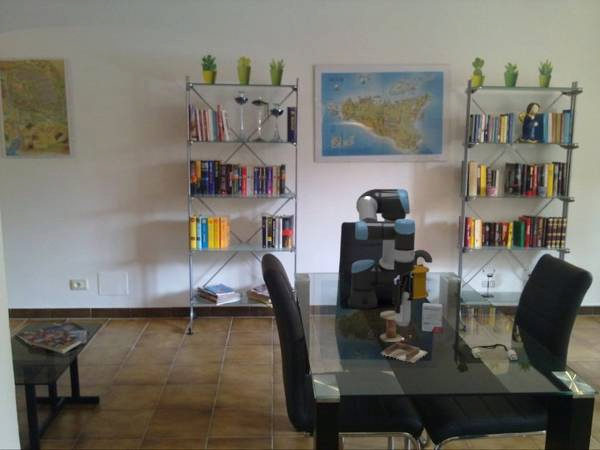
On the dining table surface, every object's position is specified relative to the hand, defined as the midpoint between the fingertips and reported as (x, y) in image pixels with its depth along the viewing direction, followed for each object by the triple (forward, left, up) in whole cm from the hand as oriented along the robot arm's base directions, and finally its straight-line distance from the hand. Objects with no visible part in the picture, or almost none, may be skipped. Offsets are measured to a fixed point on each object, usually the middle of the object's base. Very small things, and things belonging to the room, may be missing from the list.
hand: (402, 318), depth 191 cm
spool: (-36, +80, -15) cm, 89 cm away
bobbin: (-12, +13, -15) cm, 23 cm away
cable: (+26, +25, -16) cm, 39 cm away
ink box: (-3, +34, -15) cm, 38 cm away
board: (0, +2, -15) cm, 15 cm away
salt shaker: (0, 0, -3) cm, 3 cm away
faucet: (-45, +107, -15) cm, 117 cm away
